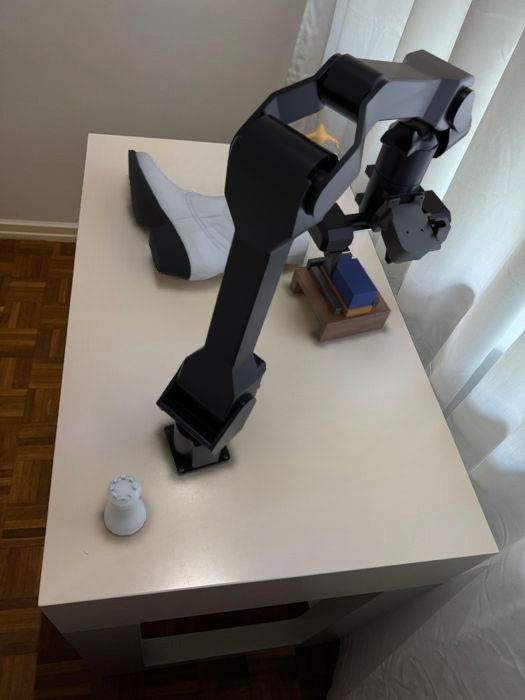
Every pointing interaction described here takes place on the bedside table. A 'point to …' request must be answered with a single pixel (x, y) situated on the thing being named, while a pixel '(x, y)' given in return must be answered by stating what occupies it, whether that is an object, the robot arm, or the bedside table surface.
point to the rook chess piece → (124, 506)
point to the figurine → (322, 136)
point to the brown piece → (335, 304)
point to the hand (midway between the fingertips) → (358, 267)
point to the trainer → (350, 286)
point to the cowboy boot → (186, 224)
